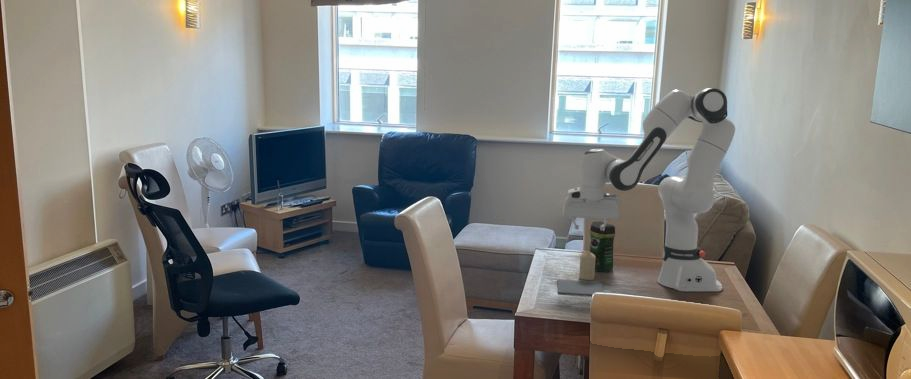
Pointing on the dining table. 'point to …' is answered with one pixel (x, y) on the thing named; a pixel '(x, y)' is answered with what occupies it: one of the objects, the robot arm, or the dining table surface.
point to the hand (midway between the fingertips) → (589, 229)
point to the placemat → (579, 287)
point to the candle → (587, 266)
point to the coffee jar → (602, 246)
